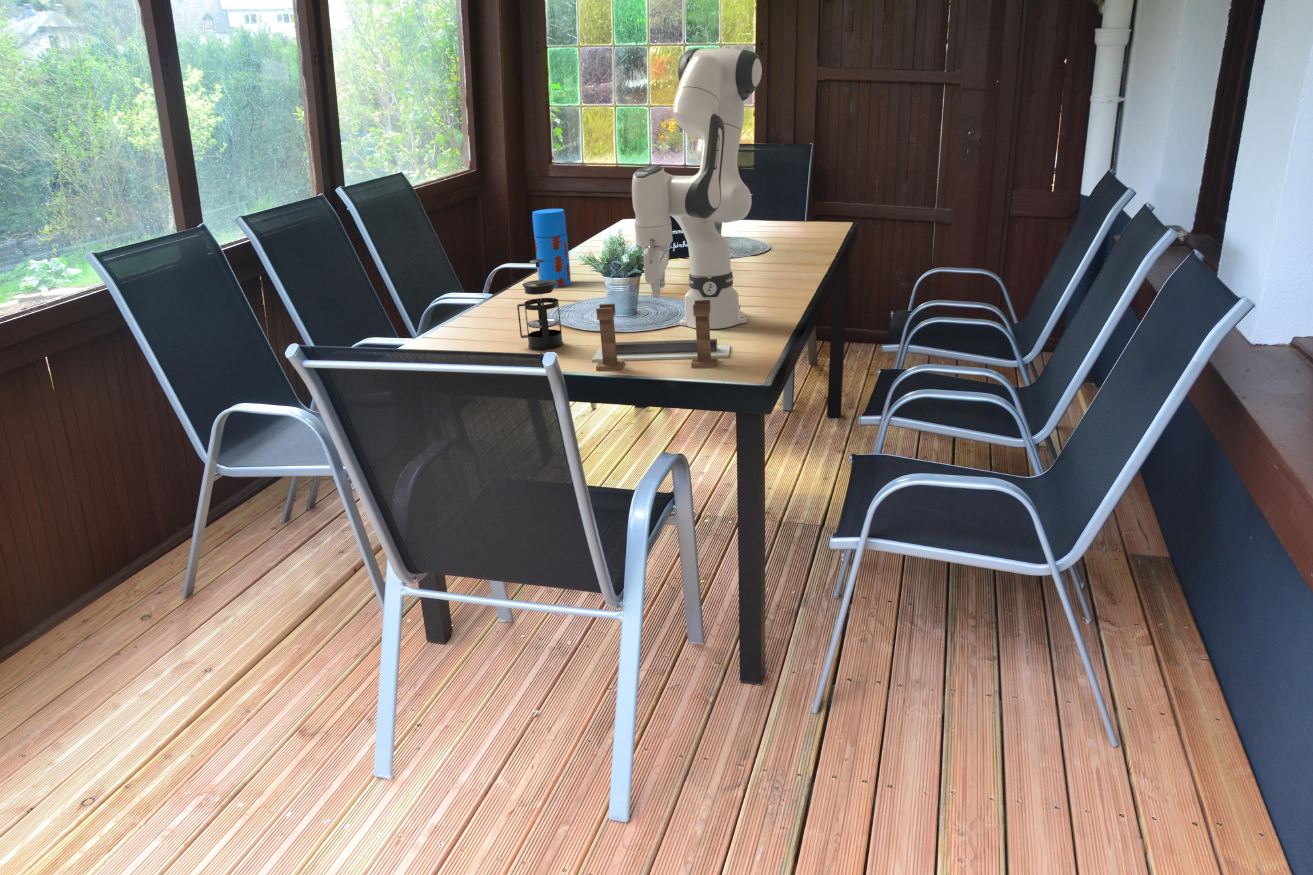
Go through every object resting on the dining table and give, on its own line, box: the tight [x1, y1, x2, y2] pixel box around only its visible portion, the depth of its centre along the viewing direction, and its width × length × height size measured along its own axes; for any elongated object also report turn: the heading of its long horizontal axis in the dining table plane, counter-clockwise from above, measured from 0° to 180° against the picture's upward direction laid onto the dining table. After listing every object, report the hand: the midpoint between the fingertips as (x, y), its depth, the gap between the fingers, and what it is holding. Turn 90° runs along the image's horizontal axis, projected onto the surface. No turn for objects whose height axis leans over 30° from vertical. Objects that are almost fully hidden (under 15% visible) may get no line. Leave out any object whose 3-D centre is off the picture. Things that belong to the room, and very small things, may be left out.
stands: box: [595, 300, 719, 371], centre depth 244 cm, size 6×29×15 cm, turn 83°
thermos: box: [532, 208, 572, 289], centre depth 344 cm, size 11×11×25 cm
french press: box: [516, 258, 564, 351], centre depth 268 cm, size 12×9×23 cm
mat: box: [591, 344, 731, 363], centre depth 256 cm, size 10×34×1 cm, turn 83°
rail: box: [616, 338, 718, 354], centre depth 256 cm, size 2×28×2 cm, turn 83°
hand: (659, 292), depth 251 cm, fingers open, 8 cm apart
